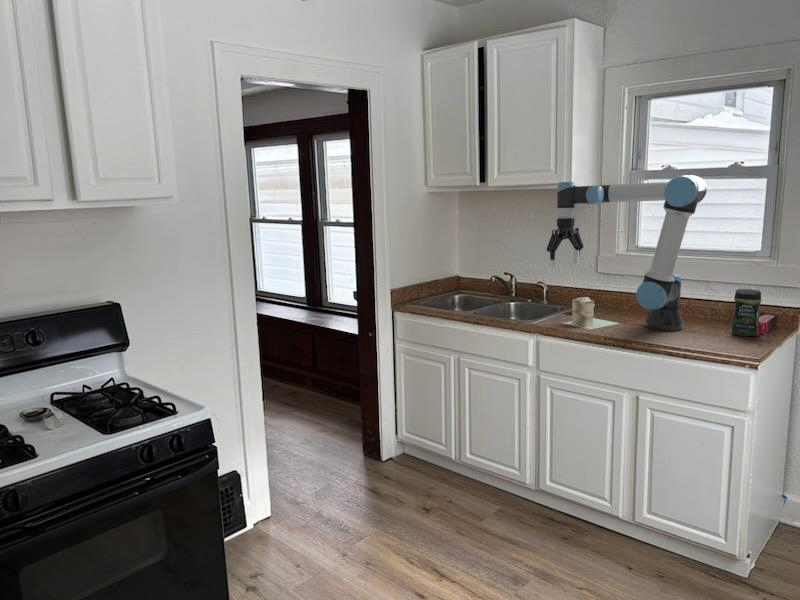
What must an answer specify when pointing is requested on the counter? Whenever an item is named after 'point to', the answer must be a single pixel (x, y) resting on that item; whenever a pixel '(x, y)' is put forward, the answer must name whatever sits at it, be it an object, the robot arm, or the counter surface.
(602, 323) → the mat
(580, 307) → the maple slab
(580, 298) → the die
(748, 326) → the coffee jar
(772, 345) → the counter surface
